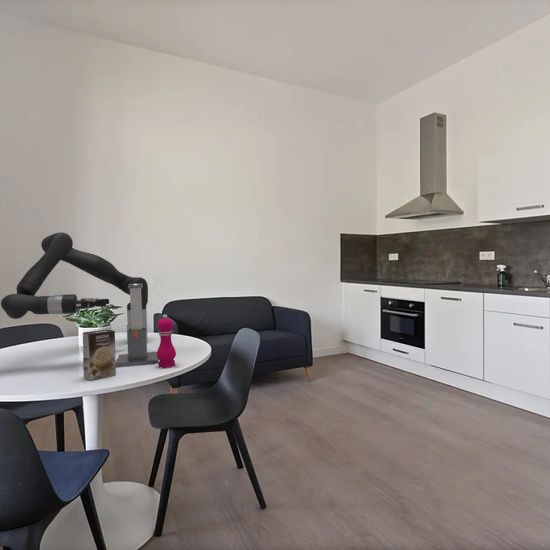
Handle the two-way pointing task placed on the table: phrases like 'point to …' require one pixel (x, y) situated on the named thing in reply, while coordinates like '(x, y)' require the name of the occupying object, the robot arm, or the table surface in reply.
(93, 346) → the coffee box
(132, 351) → the stand
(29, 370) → the table surface
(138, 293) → the post
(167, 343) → the pepper mill
